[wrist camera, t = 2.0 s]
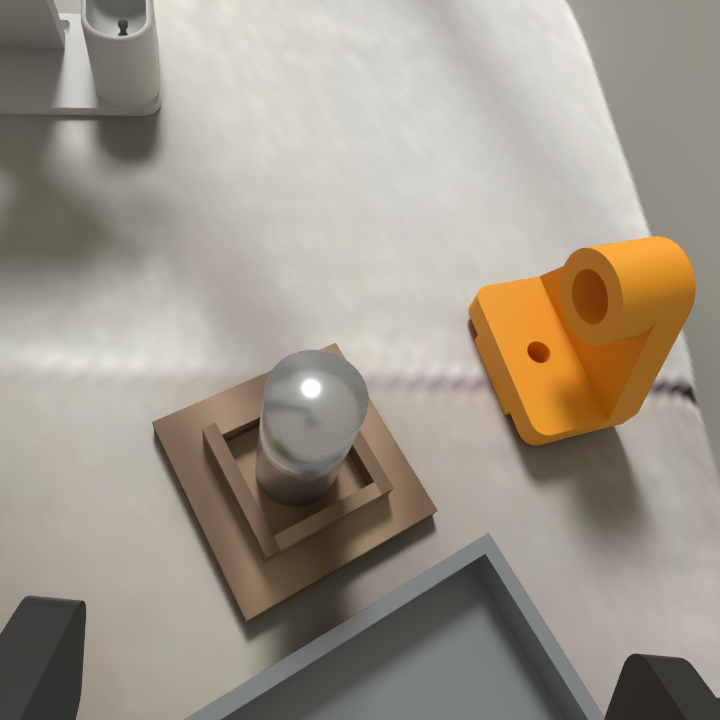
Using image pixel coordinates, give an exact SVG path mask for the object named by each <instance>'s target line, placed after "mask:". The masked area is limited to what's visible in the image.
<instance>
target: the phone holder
mask: <svg viewBox="0 0 720 720" xmlns="http://www.w3.org/2000/svg"><path fill="white" fill-rule="evenodd" d="M160 106H161V91H160V73H159V55H158V37H157V28H156V23H155V14H154V4H153V0H81V14H65V13H58V12H57V9H56V6H55V4H54V1H53V0H0V114H36V115H120V116H146V115H150V114H153V113H155V112H156V111H157V110H158V109H159V108H160Z"/></svg>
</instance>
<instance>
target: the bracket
mask: <svg viewBox="0 0 720 720" xmlns="http://www.w3.org/2000/svg"><path fill="white" fill-rule="evenodd" d="M694 299H695V277H694V273H693V269H692V266H691V263H690V261H689V259H688V257H687V256H686V254H685V253H684V251H683V250H682V249H681V248H680V247H679V246H678V245H677V244H676V243H675V242H673V241H671V240H670V239H667V238H665V237H660V236H655V237H648V238H642V239H636V240H630V241H624V242H618V243H612V244H606V245H599V246H593V247H587V248H582V249H579V250H577V251H575V252H574V253H573V254H572V255H571V256H570V257H569V258H568V260H567V261H566V263H565V265H564V266H563V267H560V268H558V269H556V270H554V271H551V272H549V273H547V274H544V275H542V276H540V277H534V278H528V279H522V280H517V281H511V282H505V283H499V284H494V285H488V286H484V287H482V288H481V289H480V290H479V292H478V294H477V295H476V297H475V298H474V300H473V302H472V303H471V305H470V307H469V315H470V318H471V320H472V322H473V325H474V327H475V330H476V332H477V334H478V336H477V337H476V339H475V340H474V342H475V344H476V347H477V349H478V351H479V354H480V356H481V359H482V361H483V363H484V366H485V368H486V371H487V373H488V376H489V378H490V380H491V383H492V385H493V388H494V390H495V393H496V395H497V397H498V400H499V402H500V405H501V407H502V409H503V412H504V414H505V415H510V414H511V416H512V418H513V421H514V423H515V426H516V428H517V430H518V433H519V435H520V437H521V438H522V439H523V440H524V441H525V442H526V443H528V444H530V445H535V446H537V445H542V444H546V443H550V442H554V441H558V440H562V439H565V438H569V437H573V436H577V435H581V434H585V433H589V432H593V431H596V430H600V429H604V428H608V427H612V426H616V425H620V424H623V423H624V422H625V421H627V420H628V419H630V418H631V417H633V416H634V415H636V414H637V413H638V411H639V409H640V408H641V406H642V404H643V402H644V400H645V398H646V396H647V394H648V392H649V390H650V388H651V386H652V385H653V383H654V381H655V379H656V377H657V375H658V373H659V371H660V369H661V367H662V365H663V363H664V361H665V360H666V358H667V356H668V354H669V352H670V350H671V348H672V346H673V344H674V342H675V340H676V338H677V337H678V335H679V333H680V331H681V329H682V327H683V325H684V323H685V321H686V319H687V317H688V315H689V313H690V311H691V309H692V306H693V303H694Z"/></svg>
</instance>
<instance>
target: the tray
mask: <svg viewBox="0 0 720 720" xmlns="http://www.w3.org/2000/svg"><path fill="white" fill-rule="evenodd" d="M604 718H605V717H604V716H603V714H602V712H601V711H600V709H599V708H598V706H597V705H596V703H595V701H594V700H593V698H592V697H591V695H590V693H589V692H588V690H587V689H586V687H585V685H584V684H583V682H582V681H581V679H580V677H579V676H578V674H577V673H576V671H575V669H574V668H573V666H572V665H571V663H570V661H569V660H568V658H567V657H566V655H565V654H564V652H563V650H562V649H561V647H560V646H559V644H558V642H557V641H556V639H555V638H554V636H553V634H552V633H551V631H550V630H549V628H548V626H547V625H546V623H545V622H544V620H543V618H542V617H541V615H540V614H539V612H538V610H537V609H536V607H535V606H534V604H533V603H532V601H531V599H530V598H529V596H528V595H527V593H526V591H525V590H524V588H523V587H522V585H521V583H520V582H519V580H518V579H517V577H516V575H515V574H514V572H513V571H512V569H511V567H510V566H509V564H508V563H507V561H506V559H505V558H504V556H503V555H502V553H501V552H500V550H499V548H498V547H497V545H496V544H495V542H494V540H493V539H492V537H491V536H490V534H489V533H488V534H486V535H484V536H483V537H481V538H479V539H478V540H476V541H475V542H473V543H471V544H470V545H468V546H466V547H465V548H463V549H462V550H460V551H458V552H457V553H455V554H453V555H452V556H450V557H448V558H447V559H445V560H444V561H442V562H440V563H439V564H437V565H435V566H434V567H432V568H431V569H429V570H427V571H426V572H424V573H422V574H421V575H419V576H418V577H416V578H414V579H413V580H411V581H409V582H408V583H406V584H405V585H403V586H401V587H400V588H398V589H396V590H395V591H393V592H391V593H390V594H388V595H387V596H385V597H383V598H382V599H380V600H378V601H377V602H375V603H374V604H372V605H370V606H369V607H367V608H365V609H364V610H362V611H361V612H359V613H357V614H356V615H354V616H352V617H351V618H349V619H348V620H346V621H344V622H343V623H341V624H339V625H338V626H336V627H335V628H333V629H331V630H330V631H328V632H326V633H325V634H323V635H321V636H320V637H318V638H317V639H315V640H313V641H312V642H310V643H308V644H307V645H305V646H304V647H302V648H300V649H299V650H297V651H295V652H294V653H292V654H291V655H289V656H287V657H286V658H284V659H282V660H281V661H279V662H278V663H276V664H274V665H273V666H271V667H269V668H268V669H266V670H265V671H263V672H261V673H260V674H258V675H256V676H255V677H253V678H251V679H250V680H248V681H247V682H245V683H243V684H242V685H240V686H238V687H237V688H235V689H234V690H232V691H230V692H229V693H227V694H225V695H224V696H222V697H221V698H219V699H217V700H216V701H214V702H212V703H211V704H209V705H208V706H206V707H204V708H203V709H201V710H199V711H198V712H196V713H194V714H193V715H191V716H190V717H188V718H186V719H185V720H604Z"/></svg>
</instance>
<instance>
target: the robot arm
mask: <svg viewBox="0 0 720 720" xmlns="http://www.w3.org/2000/svg"><path fill="white" fill-rule="evenodd" d="M85 622H86V605H85V602H84V601H81V600H70V599H60V598H49V597H38V596H27V597H25V598H24V599H23V600H22V601H21V603H20V604H19V606H18V607H17V609H16V611H15V612H14V614H13V615H12V617H11V618H10V620H9V622H8V623H7V625H6V626H5V628H4V630H3V631H2V633H1V634H0V720H76V716H77V712H78V707H79V702H80V696H81V687H82V672H83V655H84V639H85ZM604 720H720V698H716V697H715V695H714V694H713V693H712V691H711V690H710V689H709V687H708V686H707V685H706V683H705V682H704V681H703V679H702V678H701V676H700V675H699V674H698V672H697V671H696V670H695V668H694V667H693V666H692V665H691V664H690V663H689V662H688V661H687V660H685V659H683V658H678V657H667V656H656V655H645V654H632V655H630V656H629V657H628V658H627V660H626V661H625V663H624V665H623V668H622V671H621V674H620V676H619V679H618V682H617V685H616V688H615V690H614V693H613V696H612V699H611V702H610V704H609V707H608V710H607V713H606V716H605V718H604Z"/></svg>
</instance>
